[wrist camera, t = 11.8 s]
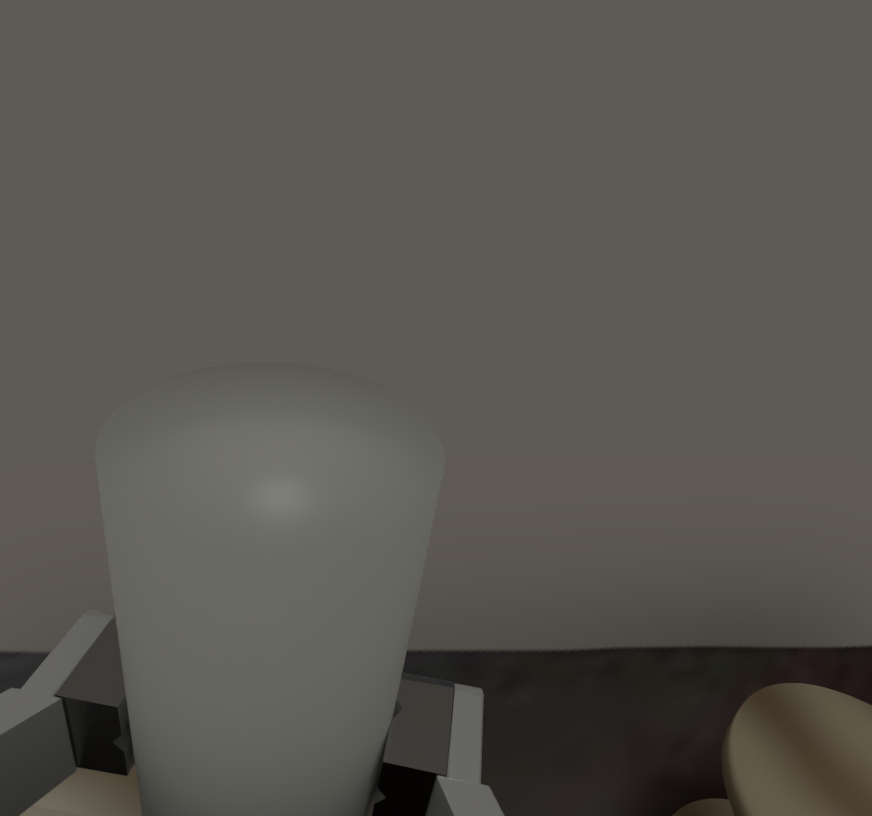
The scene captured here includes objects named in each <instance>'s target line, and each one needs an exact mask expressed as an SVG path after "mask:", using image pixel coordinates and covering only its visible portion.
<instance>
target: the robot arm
mask: <svg viewBox="0 0 872 816" xmlns="http://www.w3.org/2000/svg"><path fill="white" fill-rule="evenodd" d="M483 699H484V695H483V692H482V689H481V688H476V687H471V686H466V685H460V684H453V682H450V681H444V680H439V679H434V678H428V677H423V676H417V675H412V674H407V673H402V675H401V680H400V685H399V689H398V694H397V699H396V704H395V709H394V713H393V718H392V720H391V723H390V726H389V730H388V735H387V739H386V744H385V749H384V754H383V759H382V765H381V768H380V773H379V778H378V783H377V789H376V794H375V800H374V805H373V811H372V816H504V814H503V812H502V810H501V808H500V806H499V804H498V802H497V800H496V798H495V796H494V794H493V792H492V790H491V789H490V787H489V786H487V785H483V784H481V759H482V729H483ZM134 764H135V761H134V753H133V746H132V738H131V730H130V723H129V715H128V708H127V700H126V693H125V685H124V677H123V670H122V662H121V655H120V647H119V640H118V632H117V624H116V617H115V614H113V613H108V612H102V611H98V610H93V609H91V610H89V611H88V612H86V613H85V614H83V615H82V616H81V617H80V618H79V619H78V620H77V621H76V623H75V624H74V625H73V626H72V627H71V629H70V630H69V631H68V632H67V633H66V635H65V636H64V637H63V638H62V640H61V641H60V642H59V643H58V645H57V646H56V647H55V648H54V649H53V650H52V652H51V653H50V654H49V655H48V656H47V658H46V659H45V660H44V661H43V662H42V664H41V665H40V666H39V667H38V668H37V670H36V671H35V672H34V673H33V675H32V676H31V677H30V678H29V679H28V681H27V682H26V683H25V684H24V685H23V687H22V688H21V689H16V688H10V689H8V690H7V691H5V692H3V693H1V694H0V816H19V815H21V814H22V813H23V812H24V811H26V810H27V809H28V808H30V807H31V806H32V805H33V804H35V803H36V802H37V801H39V800H40V799H41V798H42V797H44V796H45V795H46V794H48V793H49V792H50V791H51V790H53V789H54V788H55V787H56V786H58V785H59V784H60V783H62V782H63V781H64V780H65V779H67V778H68V777H69V776H71V775H72V774H73V773H74V772H76V770H77V769H76V767H78V768H84V769H90V770H95V771H101V772H107V773H112V774H118V775H124V776H128V774H129V773H130V771H131V769H132V767H133V766H134Z"/></svg>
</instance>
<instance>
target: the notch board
mask: <svg viewBox="0 0 872 816" xmlns="http://www.w3.org/2000/svg"><path fill="white" fill-rule="evenodd" d="M76 769H77V770H76V772H74V773H73V774H72V775H71V776H69V777H68V778H67V779H65V780H64V781H63V782H62V783H60V784H59V785H58V786H56V787H55V788H54V789H53V790H51V791H50V792H49V793H48V794H46V795H45V796H44V797H42V798H41V799H40V800H39V801H37V802H36V803H35V804H33V805H32V806H31V807H30V808H28V809H27V810H26V811H24V812H23V813H22V814H21V815H19V816H142V814H141V806H140V799H139V791H138V783H137V776H136V768H135V764H134V766H133V767H132V769H131V771H130V773H129V774H128V776H124V775H118V774H112V773H107V772H101V771H95V770H90V769H84V768H78V767H76Z"/></svg>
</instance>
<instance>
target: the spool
mask: <svg viewBox="0 0 872 816" xmlns="http://www.w3.org/2000/svg"><path fill="white" fill-rule="evenodd" d="M721 763H722V772H723V779H724V784H725V788H726V792H727V796H728V799H729V800H728V799H712V798H710V799H703V800H698V801H695V802H692V803H689V804H687V805H685V806H684V807H682V808H680V809H679V810H678V811H677V812H675V813H674V814H673V815H672V816H872V706H871V705H869V704H867V703H865V702H863V701H861V700H858V699H856V698H854V697H851V696H849V695H846V694H843V693H840V692H838V691H835V690H831V689H828V688H824V687H820V686H815V685H809V684H801V683H784V684H775V685H772V686H768V687H765V688H763V689H761V690H759V691H757V692H755V693H754V694H752V695H751V696H750V697H749V698H747V700H746V701H745V702H744V704H743V705H742V706H741V707H740V709H739V711H738V712H737V714H736V715H735V717H734V718H733V720H732V721H731V723H730V725H729V727H728V729H727V731H726V734H725V736H724V741H723V745H722V761H721Z"/></svg>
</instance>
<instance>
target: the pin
mask: <svg viewBox="0 0 872 816" xmlns="http://www.w3.org/2000/svg"><path fill="white" fill-rule="evenodd" d="M95 465H96V473H97V481H98V488H99V496H100V503H101V511H102V519H103V526H104V533H105V541H106V549H107V556H108V563H109V571H110V578H111V587H112V594H113V601H114V609H115V617H116V624H117V632H118V640H119V647H120V655H121V662H122V670H123V677H124V685H125V693H126V700H127V708H128V715H129V723H130V730H131V738H132V746H133V753H134V761H135V768H136V776H137V783H138V791H139V799H140V806H141V814H142V816H372V811H373V805H374V800H375V794H376V789H377V783H378V778H379V773H380V768H381V765H382V759H383V754H384V749H385V744H386V739H387V735H388V730H389V726H390V723H391V720H392V718H393V713H394V709H395V704H396V699H397V694H398V689H399V685H400V680H401V675H402V670H403V665H404V661H405V656H406V651H407V646H408V641H409V636H410V631H411V627H412V622H413V617H414V612H415V607H416V603H417V598H418V593H419V588H420V584H421V578H422V574H423V569H424V564H425V560H426V555H427V550H428V545H429V540H430V535H431V531H432V526H433V521H434V516H435V512H436V506H437V502H438V497H439V492H440V487H441V483H442V478H443V472H444V468H445V450H444V444H443V442H442V440H441V437H440V434H439V433H438V431H437V430H436V428H435V426H434V424H433V423H432V422H431V421H430V420H429V418H428V417H427V416H426V415H425V414H424V413H423V412H422V411H421V410H420V409H418V408H417V407H416V406H415V405H414V404H412V403H411V402H410V401H408V400H407V399H405V398H404V397H402V396H401V395H399V394H397V393H395V392H394V391H392V390H390V389H388V388H386V387H384V386H381V385H379V384H377V383H375V382H372V381H369V380H367V379H364V378H361V377H358V376H354V375H351V374H348V373H345V372H340V371H336V370H331V369H327V368H321V367H315V366H308V365H300V364H288V363H243V364H233V365H224V366H217V367H211V368H205V369H200V370H196V371H192V372H188V373H184V374H181V375H178V376H175V377H172V378H169V379H167V380H164V381H162V382H159V383H157V384H154V385H152V386H150V387H148V388H146V389H144V390H142V391H140V392H139V393H137V394H136V395H134V396H133V397H131V398H130V399H128V400H127V401H125V402H124V403H123V404H122V405H121V406H119V407H118V408H117V409H116V410H115V411H114V412H113V413H112V414H111V415H110V417H109V418H108V419H107V420H106V422H105V423H104V425H103V427H102V428H101V430H100V432H99V434H98V437H97V441H96V445H95Z"/></svg>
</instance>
